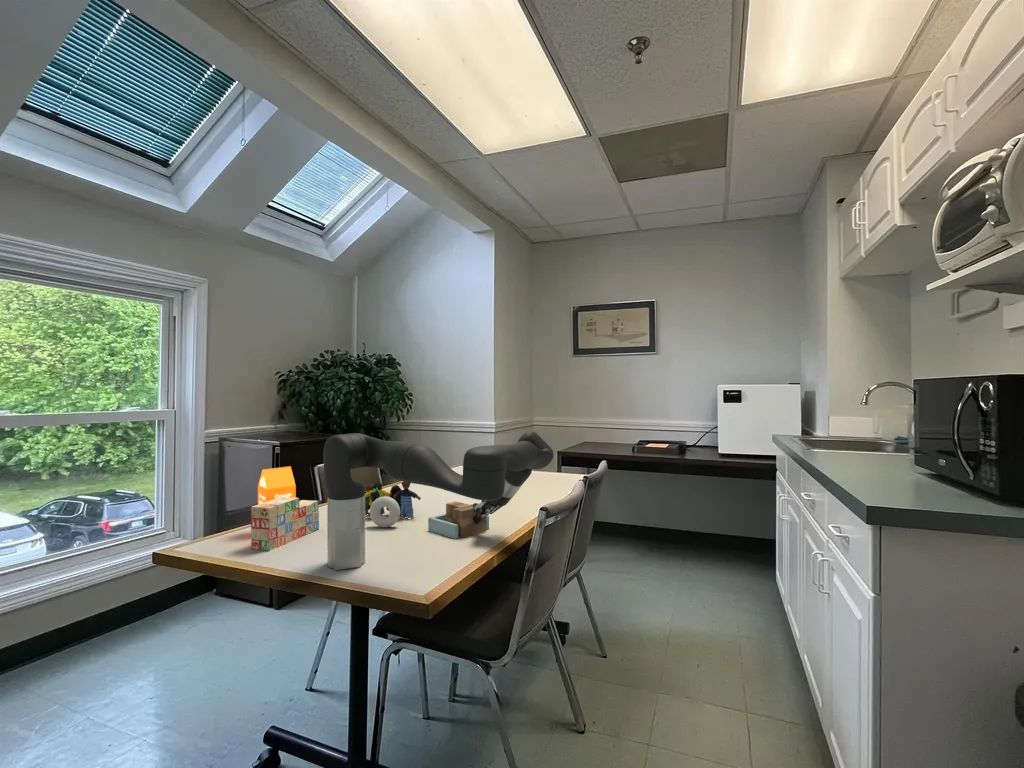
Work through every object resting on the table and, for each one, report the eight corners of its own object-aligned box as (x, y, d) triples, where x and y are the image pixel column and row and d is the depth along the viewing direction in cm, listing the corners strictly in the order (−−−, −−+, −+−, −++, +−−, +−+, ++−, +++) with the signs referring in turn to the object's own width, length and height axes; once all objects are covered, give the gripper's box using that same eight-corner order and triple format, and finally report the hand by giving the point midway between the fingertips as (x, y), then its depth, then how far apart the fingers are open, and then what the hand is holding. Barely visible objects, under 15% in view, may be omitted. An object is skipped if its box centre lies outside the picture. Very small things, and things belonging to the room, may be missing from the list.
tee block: (485, 530, 154) (485, 505, 154) (461, 537, 147) (461, 511, 147) (462, 524, 162) (462, 499, 162) (438, 530, 154) (438, 505, 154)
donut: (401, 526, 159) (401, 495, 159) (398, 529, 156) (398, 497, 156) (372, 525, 161) (372, 494, 161) (368, 528, 157) (368, 497, 157)
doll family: (424, 513, 176) (424, 476, 176) (420, 520, 167) (420, 481, 167) (359, 513, 175) (359, 476, 175) (352, 520, 166) (351, 481, 166)
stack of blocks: (302, 528, 158) (302, 490, 158) (319, 530, 156) (319, 491, 156) (250, 549, 137) (250, 505, 137) (269, 551, 135) (269, 507, 135)
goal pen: (489, 528, 157) (489, 516, 157) (455, 538, 146) (455, 525, 146) (462, 521, 165) (462, 509, 165) (428, 530, 154) (428, 517, 154)
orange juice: (296, 530, 154) (296, 467, 155) (266, 537, 148) (266, 471, 148) (286, 526, 160) (286, 464, 160) (257, 531, 154) (257, 468, 154)
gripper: (495, 501, 136) (465, 536, 144) (526, 493, 145) (497, 526, 154) (481, 479, 139) (453, 515, 147) (513, 473, 149) (485, 507, 157)
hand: (475, 521), depth 150 cm, fingers closed
